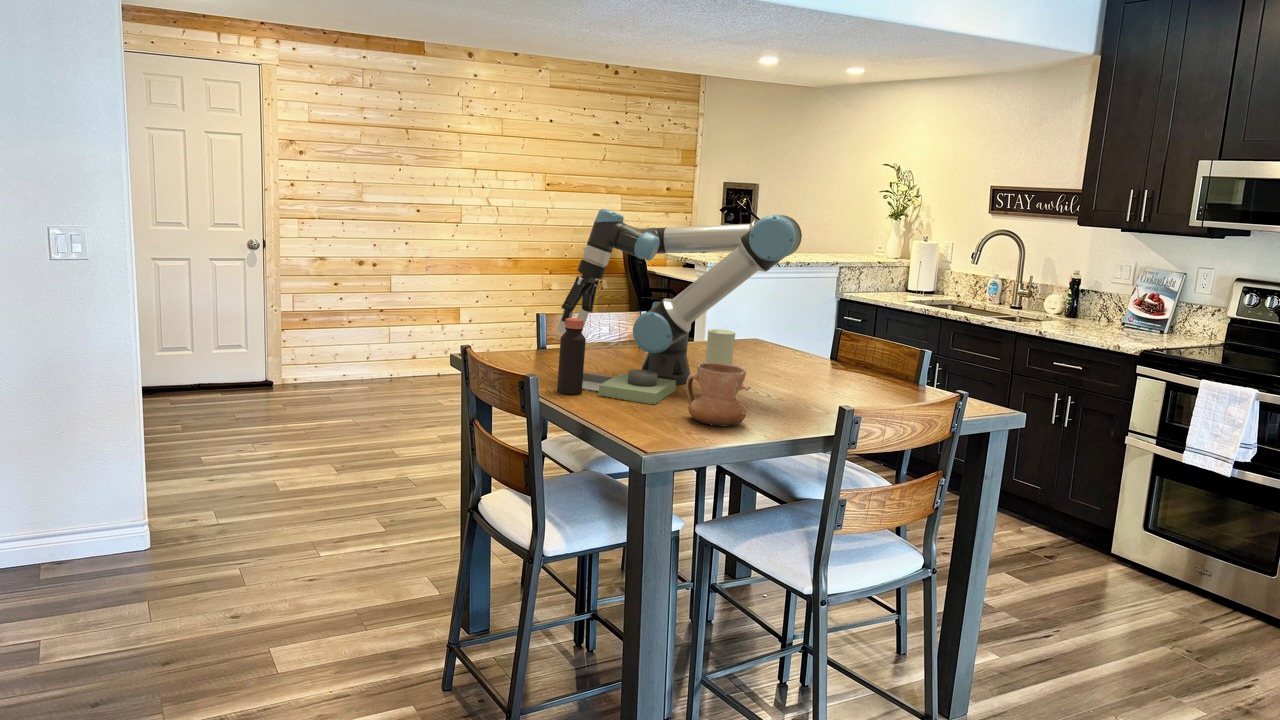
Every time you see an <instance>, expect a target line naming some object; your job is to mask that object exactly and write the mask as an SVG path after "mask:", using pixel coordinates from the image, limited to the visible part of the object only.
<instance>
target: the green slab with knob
mask: <svg viewBox="0 0 1280 720" xmlns="http://www.w3.org/2000/svg"><path fill="white" fill-rule="evenodd" d="M676 385H677V384H676V381H675V380H669V379H662V378H657V373H656V372H653V371H648V370H641V369H630V370H629V371H628V373H627V372H622V373H619V374H618V375H615V376H610V375H604V374H599V373H598V374H597V373H590V372H585V371H583V383H582V389H585V390H584V391H589V390H592V391H591V392H595V391H598V393H597V395H599V396H598V397H602V396H606V397H605V398H608V397H611V398H610V399H615V398H618V399H617V400H621V399H624V400H623V401H627V400H629V402H635V403H640V402H641V404H649V405H653V404H655V405H657V404H658V403H660V402H662V401H663V400H664V399H665V397H666V398H667V397H668V396H670V395H671V394H673V393H674V392H676ZM662 399H663V400H662ZM656 403H657V404H656Z"/></svg>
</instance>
